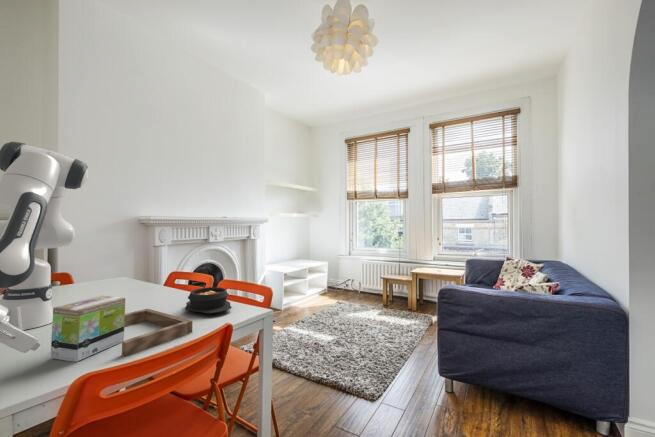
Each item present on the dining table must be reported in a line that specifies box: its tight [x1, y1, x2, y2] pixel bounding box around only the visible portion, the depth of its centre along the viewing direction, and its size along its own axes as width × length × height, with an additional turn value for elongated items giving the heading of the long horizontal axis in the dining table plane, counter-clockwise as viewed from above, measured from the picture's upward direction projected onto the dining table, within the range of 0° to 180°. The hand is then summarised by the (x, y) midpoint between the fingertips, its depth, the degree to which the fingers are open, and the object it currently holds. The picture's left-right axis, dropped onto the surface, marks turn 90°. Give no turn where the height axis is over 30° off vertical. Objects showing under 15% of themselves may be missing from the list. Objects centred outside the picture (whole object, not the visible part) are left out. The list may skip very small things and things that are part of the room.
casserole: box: [185, 286, 233, 314], centre depth 132 cm, size 25×19×8 cm
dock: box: [121, 308, 194, 358], centre depth 102 cm, size 22×28×4 cm
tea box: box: [50, 295, 126, 363], centre depth 90 cm, size 15×10×15 cm, turn 168°
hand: (36, 346), depth 79 cm, fingers closed
